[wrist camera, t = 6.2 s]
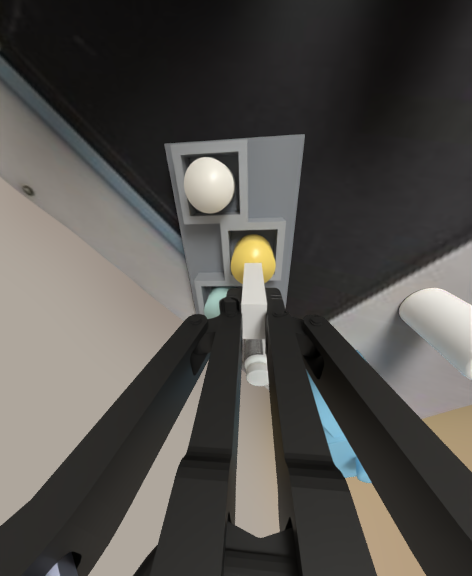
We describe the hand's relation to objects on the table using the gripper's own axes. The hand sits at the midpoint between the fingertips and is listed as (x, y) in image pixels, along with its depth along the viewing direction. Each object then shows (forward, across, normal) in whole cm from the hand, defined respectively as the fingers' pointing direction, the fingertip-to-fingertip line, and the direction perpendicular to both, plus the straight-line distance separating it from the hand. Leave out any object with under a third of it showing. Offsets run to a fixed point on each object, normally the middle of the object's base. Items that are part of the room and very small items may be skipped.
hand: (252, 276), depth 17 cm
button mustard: (+6, 0, 0) cm, 6 cm away
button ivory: (+7, -4, +7) cm, 11 cm away
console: (+11, -2, 0) cm, 11 cm away
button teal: (+7, -4, -7) cm, 11 cm away
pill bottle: (+11, +1, -18) cm, 22 cm away
